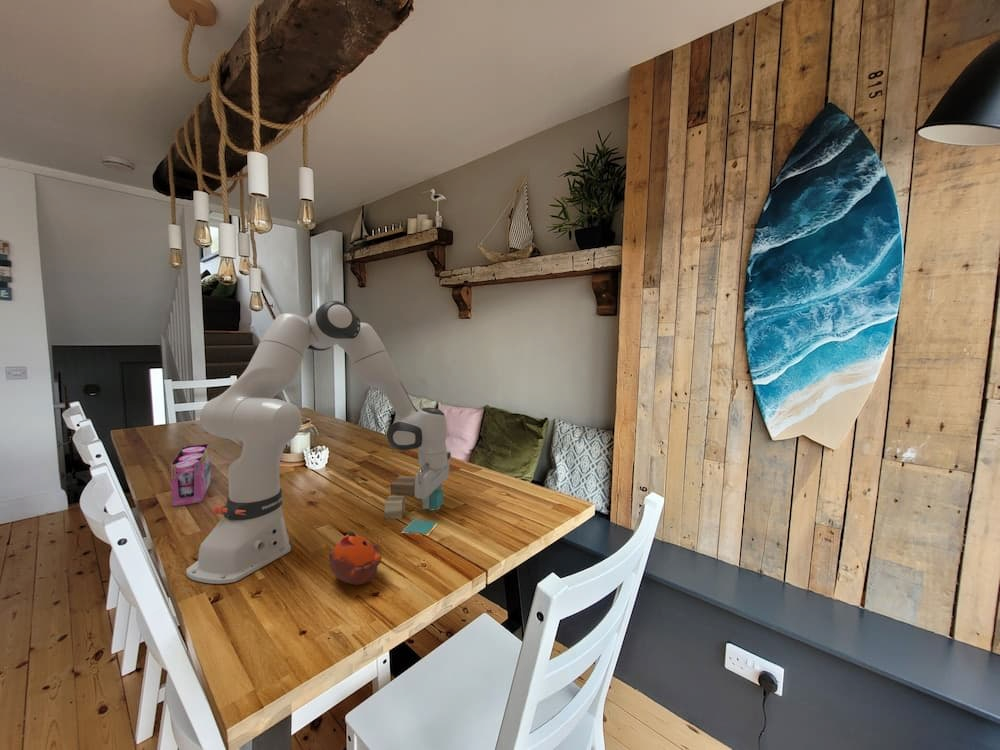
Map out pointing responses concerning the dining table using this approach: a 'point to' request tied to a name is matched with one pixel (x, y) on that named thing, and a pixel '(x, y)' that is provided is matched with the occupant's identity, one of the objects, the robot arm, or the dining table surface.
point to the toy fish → (355, 559)
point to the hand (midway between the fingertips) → (432, 501)
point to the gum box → (190, 475)
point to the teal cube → (435, 499)
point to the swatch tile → (419, 526)
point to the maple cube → (394, 506)
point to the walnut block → (403, 485)
